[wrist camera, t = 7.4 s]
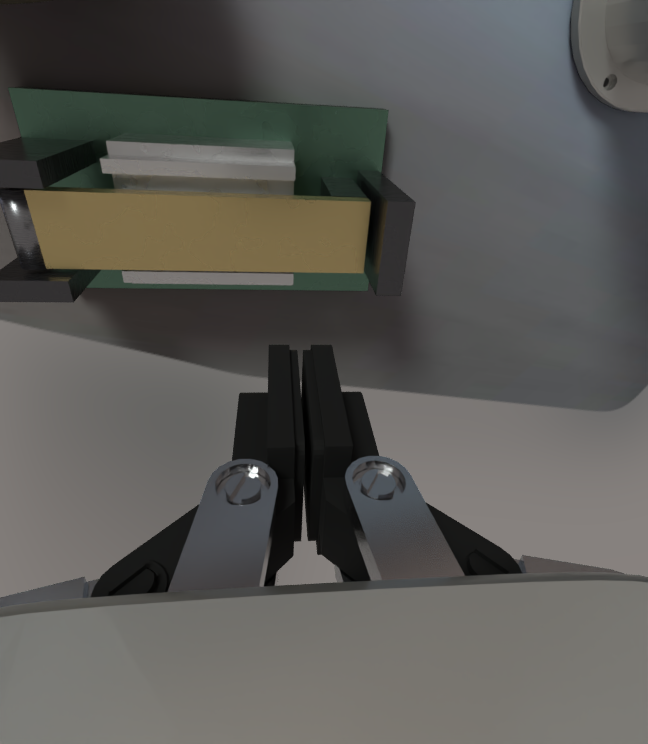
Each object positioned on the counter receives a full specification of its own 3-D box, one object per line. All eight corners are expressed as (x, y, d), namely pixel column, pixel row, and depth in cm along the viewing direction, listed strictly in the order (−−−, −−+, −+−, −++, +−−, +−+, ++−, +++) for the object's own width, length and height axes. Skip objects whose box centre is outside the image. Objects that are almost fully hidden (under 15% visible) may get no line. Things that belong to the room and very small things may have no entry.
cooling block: (383, 108, 29) (432, 122, 21) (364, 283, 36) (395, 350, 27) (20, 87, 27) (-101, 92, 18) (70, 279, 33) (-1, 351, 24)
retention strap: (366, 196, 25) (372, 203, 24) (359, 265, 27) (364, 275, 26) (5, 183, 23) (-11, 190, 22) (28, 260, 25) (15, 270, 24)
